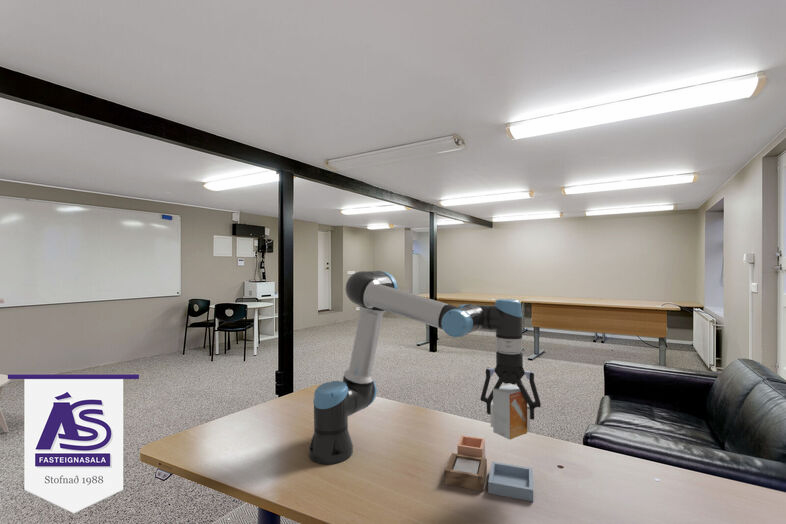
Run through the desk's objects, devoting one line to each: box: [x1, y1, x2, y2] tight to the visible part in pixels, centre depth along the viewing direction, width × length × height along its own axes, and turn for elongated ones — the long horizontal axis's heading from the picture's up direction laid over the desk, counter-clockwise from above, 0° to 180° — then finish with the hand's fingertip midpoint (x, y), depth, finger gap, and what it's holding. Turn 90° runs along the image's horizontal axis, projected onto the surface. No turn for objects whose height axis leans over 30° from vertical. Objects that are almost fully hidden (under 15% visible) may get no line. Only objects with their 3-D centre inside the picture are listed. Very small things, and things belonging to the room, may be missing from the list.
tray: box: [487, 461, 534, 502], centre depth 109 cm, size 12×12×3 cm
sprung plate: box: [453, 458, 480, 474], centre depth 113 cm, size 7×8×1 cm
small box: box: [492, 383, 528, 441], centre depth 110 cm, size 8×6×13 cm
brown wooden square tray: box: [444, 452, 488, 492], centre depth 113 cm, size 11×11×4 cm
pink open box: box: [456, 434, 486, 458], centre depth 124 cm, size 8×8×6 cm
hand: (510, 427), depth 109 cm, fingers closed on small box, 10 cm apart
